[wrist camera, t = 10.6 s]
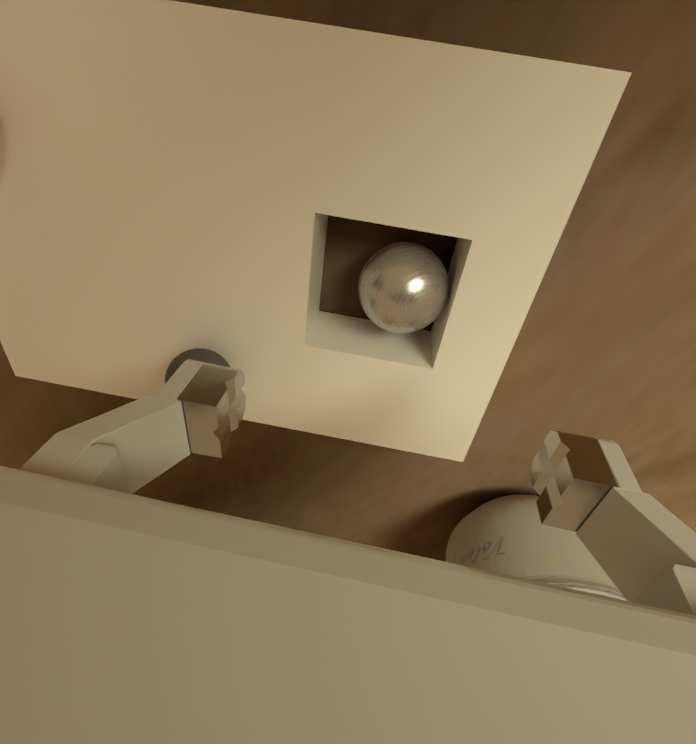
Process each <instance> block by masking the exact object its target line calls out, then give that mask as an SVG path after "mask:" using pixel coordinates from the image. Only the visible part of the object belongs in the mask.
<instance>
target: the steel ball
mask: <svg viewBox="0 0 696 744" xmlns="http://www.w3.org/2000/svg"><path fill="white" fill-rule="evenodd" d="M358 293H359V299H360V303H361V305H362V308H363V310H364V312H365V313H366V315H367V316H368V317H369V319H370V320H371V321H372V322H373V323H375V324H376V325H377V326H379V327H380V328H382V329H385V330H387V331H390V332H394V333H411V332H415V331H418V330H421V329H423V328H425V327H427V326H428V325H430V324H431V323H432V322H433V321H434V320H435V319H436V318H437V317H438V316H439V315H440V313H441V312H442V310H443V308H444V306H445V304H446V301H447V298H448V293H449V280H448V275H447V271H446V269H445V267H444V265H443V263H442V261H441V260H440V259H439V257H438V256H437V255H436V254H435V253H434V252H433V251H432V250H430V249H428V248H427V247H425V246H423V245H420V244H418V243H414V242H396V243H392V244H389V245H386V246H384V247H382V248H381V249H379V250H378V251H376V252H375V253H374V254H373V255H372V256H371V257H370V258H369V259H368V261H367V262H366V264H365V265H364V267H363V269H362V271H361V274H360V278H359V285H358Z"/></svg>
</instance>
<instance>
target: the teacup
mask: <svg viewBox="0 0 696 744" xmlns="http://www.w3.org/2000/svg"><path fill="white" fill-rule="evenodd" d="M538 498H539V496H535V495H509V496H503V497H499V498H496V499H493V500H491V501H488V502H486V503H484V504H482V505H481V506H479V507H478V508H476V509H475V510H474V511H472V512H471V513H469V514H468V515H467V516H465V517H464V518H463V519H462V520H461V521H460V522H459V523H458V525H457V526H456V527H455V528H454V530H453V532H452V534H451V536H450V538H449V541H448V545H447V549H446V562H449V563H454V564H458V565H463V566H468V567H472V568H477V569H482V570H486V571H491V572H495V573H500V574H505V575H509V576H514V577H519V578H523V579H528V580H533V581H537V582H542V583H547V584H551V585H556V586H560V587H565V588H570V589H574V590H579V591H584V592H588V593H593V594H597V595H602V596H607V597H611V598H616V599H621V600H625V601H627V600H626V598H625V597H624V596H623V594H622V593H621V592H620V591H619V589H618V588H617V587H616V585H615V584H614V583H613V582H612V580H611V579H610V578H609V576H608V575H607V574H606V572H605V571H604V570H603V569H602V567H601V566H600V565H599V563H598V562H597V561H596V560H595V558H594V557H593V556H592V554H591V553H590V552H589V551H588V549H587V548H586V547H585V545H584V544H583V543H582V541H581V540H580V539H579V538H578V536H577V535H576V533H577V532H573V531H568V530H564V529H560V528H555V527H551V526H547V525H543V524H541V520H540V516H539V512H538V507H537V503H536V501H537V500H538Z"/></svg>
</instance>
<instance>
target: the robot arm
mask: <svg viewBox="0 0 696 744" xmlns="http://www.w3.org/2000/svg"><path fill="white" fill-rule="evenodd" d="M244 383H245V377H244V372H243V371H242V370H239V369H234V368H230V367H225V366H220V365H216V364H211V363H205V362H200V361H196V360H191V359H188V360H186V361H184V362H183V363H182V365H181V366H180V367H179V368H178V369H177V370H176V372H175V373H174V374H173V375H172V376H171V378H170V379H169V380H168V381H167V382H166V383H165V385H164V386H163V387H162V388H161V389H160V391H159V392H158V393H157V394H156V395H148V396H145V397H143V398H140V399H138V400H135V401H133V402H131V403H128V404H126V405H123V406H121V407H118V408H116V409H114V410H111V411H109V412H106V413H104V414H101V415H99V416H96V417H94V418H92V419H89V420H87V421H84V422H82V423H79V424H77V425H75V426H72V427H70V428H67V429H65V430H62V431H60V432H57V433H56V434H55V435H54V436H52V437H51V438H50V439H49V440H48V441H47V442H46V443H45V444H44V445H43V446H42V447H41V448H40V449H39V450H38V451H37V452H36V453H35V454H34V455H33V456H32V457H31V458H30V459H29V460H28V461H27V462H26V463H25V464H24V465H23V466H22V467H21V468H20V469H19V470H18V469H13V468H8V467H4V466H0V744H696V533H695V532H694V531H692V530H691V529H690V528H689V527H688V526H686V525H685V524H684V523H683V522H682V521H680V520H679V519H678V518H677V517H676V516H675V515H673V514H672V513H671V512H670V511H669V510H667V509H666V508H665V507H664V506H663V505H661V504H660V503H659V502H658V501H657V500H656V499H654V498H653V497H652V496H651V495H650V494H647V493H642V491H641V489H640V487H639V485H638V483H637V481H636V479H635V477H634V475H633V473H632V470H631V468H630V466H629V464H628V462H627V460H626V458H625V456H624V454H623V452H622V450H621V448H620V446H619V445H618V444H617V443H616V442H615V441H613V440H607V439H601V438H595V437H593V438H592V437H587V436H582V435H577V434H571V433H566V432H561V431H555V430H552V431H551V432H550V433H548V435H547V437H546V438H545V440H544V442H545V445H546V448H545V449H543V450H541V451H539V452H537V454H536V456H535V458H534V460H533V462H532V467H531V482H532V486H533V488H534V489H535V490H536V491H537V492H538V494H539V495H540V496H539V498H538V500H537V501H536V503H537V507H538V512H539V516H540V520H541V524H543V525H547V526H551V527H555V528H560V529H564V530H568V531H573V532H577V533H576V535H577V536H578V538H579V539H580V540H581V541H582V543H583V544H584V545H585V547H586V548H587V549H588V551H589V552H590V553H591V554H592V556H593V557H594V558H595V560H596V561H597V562H598V563H599V565H600V566H601V567H602V569H603V570H604V571H605V572H606V574H607V575H608V576H609V578H610V579H611V580H612V582H613V583H614V584H615V585H616V587H617V588H618V589H619V591H620V592H621V593H622V594H623V596H624V597H625V598H626V600H627V601H625V600H621V599H616V598H611V597H607V596H602V595H597V594H593V593H588V592H584V591H579V590H574V589H570V588H565V587H560V586H556V585H551V584H547V583H542V582H537V581H533V580H528V579H523V578H519V577H514V576H509V575H505V574H500V573H495V572H491V571H486V570H482V569H477V568H472V567H468V566H463V565H458V564H454V563H449V562H444V561H440V560H435V559H430V558H426V557H421V556H417V555H412V554H407V553H403V552H398V551H393V550H389V549H384V548H379V547H375V546H370V545H366V544H361V543H356V542H352V541H347V540H342V539H338V538H333V537H329V536H324V535H319V534H315V533H310V532H305V531H301V530H296V529H291V528H287V527H282V526H278V525H273V524H268V523H264V522H259V521H254V520H250V519H245V518H240V517H236V516H231V515H226V514H222V513H217V512H213V511H208V510H203V509H199V508H194V507H189V506H185V505H180V504H175V503H171V502H166V501H162V500H157V499H152V498H148V497H143V496H138V495H134V494H132V493H134V492H135V491H137V490H138V489H140V488H141V487H143V486H144V485H146V484H147V483H149V482H150V481H152V480H153V479H155V478H156V477H158V476H159V475H160V474H162V473H163V472H165V471H166V470H168V469H169V468H171V467H172V466H174V465H175V464H177V463H178V462H180V461H181V460H183V459H184V458H186V457H187V456H188V455H190V453H196V454H202V455H207V456H213V457H218V458H222V457H223V455H224V453H225V451H226V449H227V447H228V446H229V444H230V442H231V440H232V438H231V431H233V430H235V429H237V428H238V427H239V425H240V423H241V421H242V418H243V415H244V412H245V405H246V395H245V394H244V392H243V391H242V390H241V388H242V387H243V385H244Z"/></svg>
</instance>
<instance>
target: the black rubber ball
mask: <svg viewBox="0 0 696 744" xmlns="http://www.w3.org/2000/svg"><path fill="white" fill-rule="evenodd" d="M188 359H191V360H196V361H200V362H205V363H211V364H216V365H220V366H225V367H230V366H229V364H228V362H227V361H226V360H225V359H224V358H223V357H222V356H221V355H219V354H218V353H216V352H214V351H212V350H208V349H203V348H196V349H190V350H187V351H185V352H182V353H181V354H179V355H178V356H176V357H175V358H174V359H173V360H172V362H171V363H170V364H169V366H168V368H167V371H166V375H165V383H166V382H167V381H168V380H169V379H170V378H171V376H172V375H173V374H174V373H175V372H176V370H177V369H178V368H179V367H180V366H181V365H182V363H183V362H184V361H186V360H188Z"/></svg>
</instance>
